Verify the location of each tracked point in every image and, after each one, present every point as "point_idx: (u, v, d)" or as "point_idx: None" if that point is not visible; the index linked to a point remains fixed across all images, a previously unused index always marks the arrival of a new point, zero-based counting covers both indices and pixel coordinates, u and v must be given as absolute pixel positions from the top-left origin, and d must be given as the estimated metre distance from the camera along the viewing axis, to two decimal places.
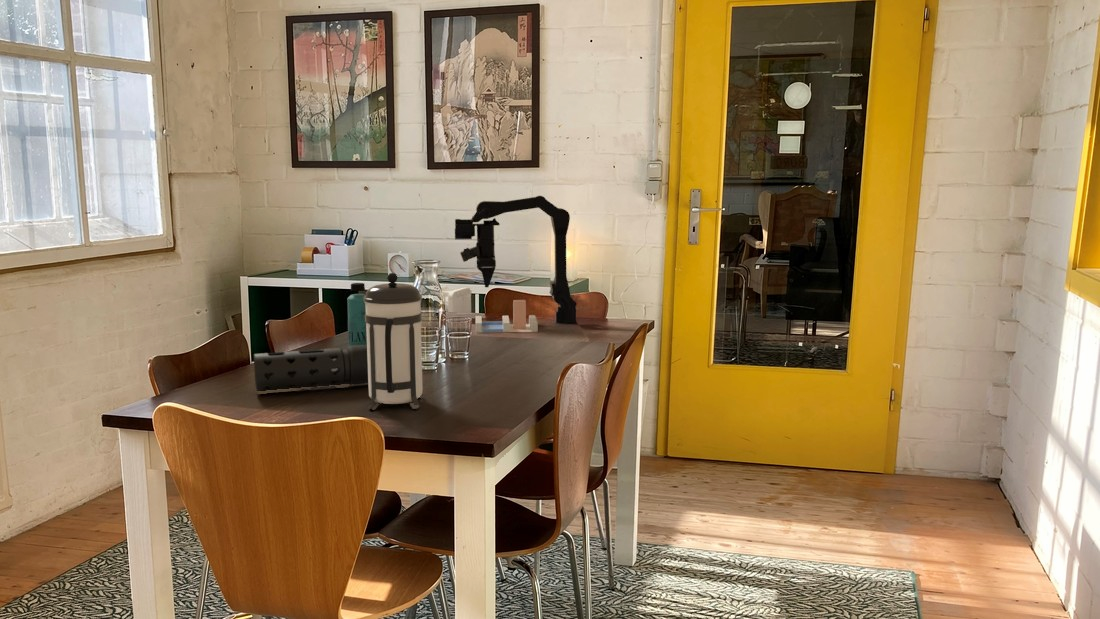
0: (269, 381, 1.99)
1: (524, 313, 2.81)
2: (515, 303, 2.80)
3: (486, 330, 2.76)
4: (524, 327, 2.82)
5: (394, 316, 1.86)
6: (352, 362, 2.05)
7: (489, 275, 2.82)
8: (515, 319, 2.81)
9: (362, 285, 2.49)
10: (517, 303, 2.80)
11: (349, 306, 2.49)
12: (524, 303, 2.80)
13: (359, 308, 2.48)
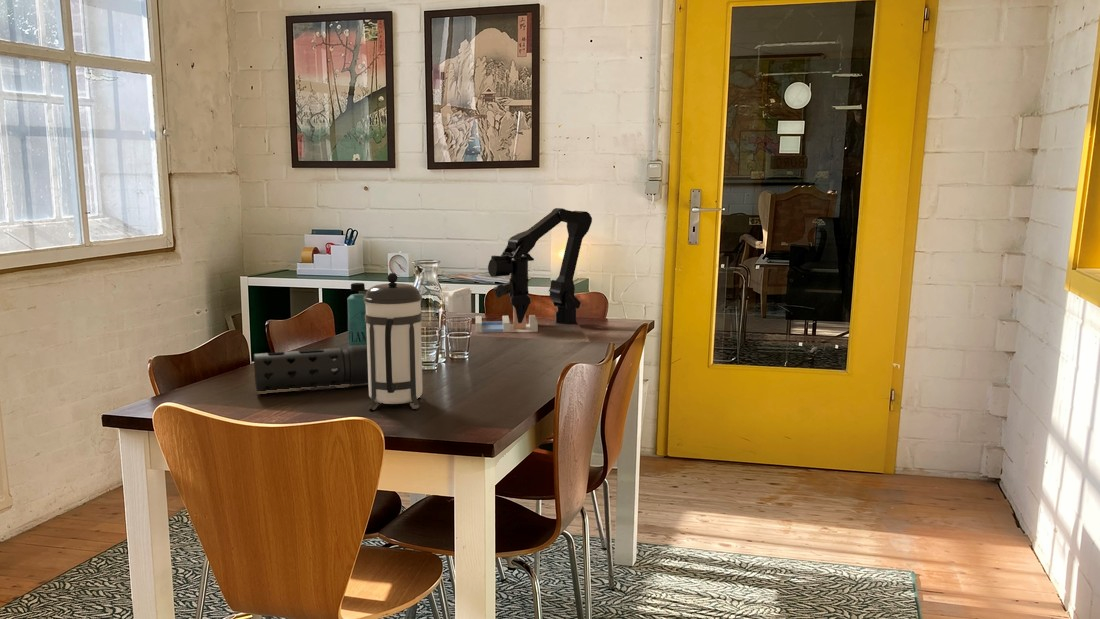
0: (269, 381, 1.99)
1: None
2: None
3: (486, 330, 2.76)
4: (524, 327, 2.82)
5: (394, 316, 1.86)
6: (352, 362, 2.05)
7: (523, 311, 2.79)
8: (515, 319, 2.81)
9: (362, 285, 2.49)
10: None
11: (349, 306, 2.49)
12: None
13: (359, 308, 2.48)
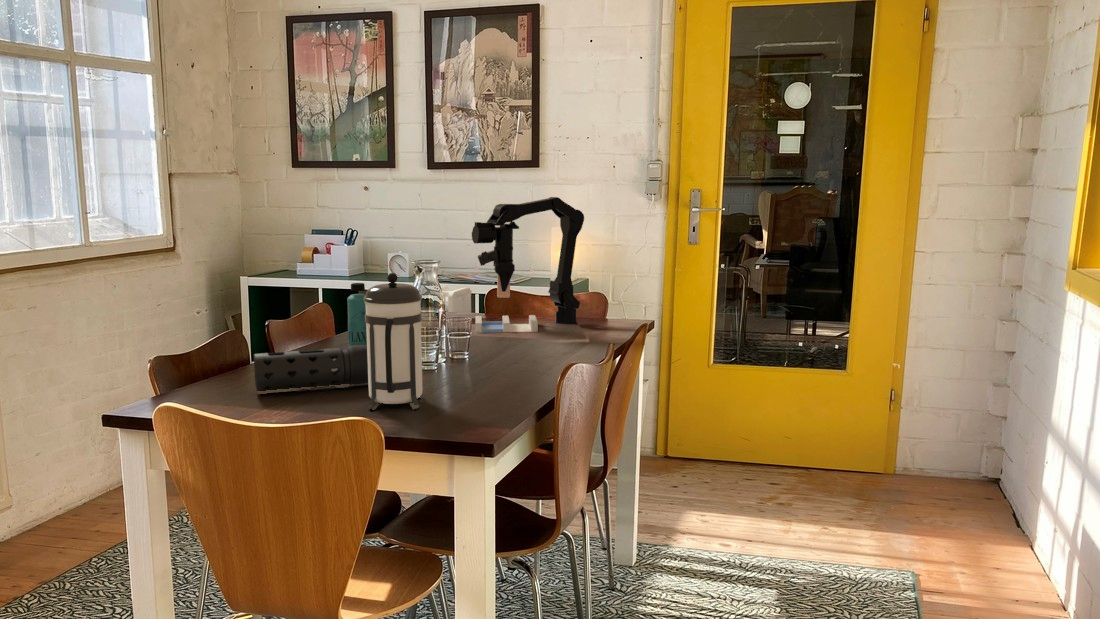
0: (269, 381, 1.99)
1: None
2: None
3: (486, 330, 2.76)
4: (508, 296, 2.79)
5: (394, 316, 1.86)
6: (352, 362, 2.05)
7: (507, 279, 2.77)
8: (499, 287, 2.79)
9: (362, 285, 2.49)
10: None
11: (349, 306, 2.49)
12: None
13: (359, 308, 2.48)
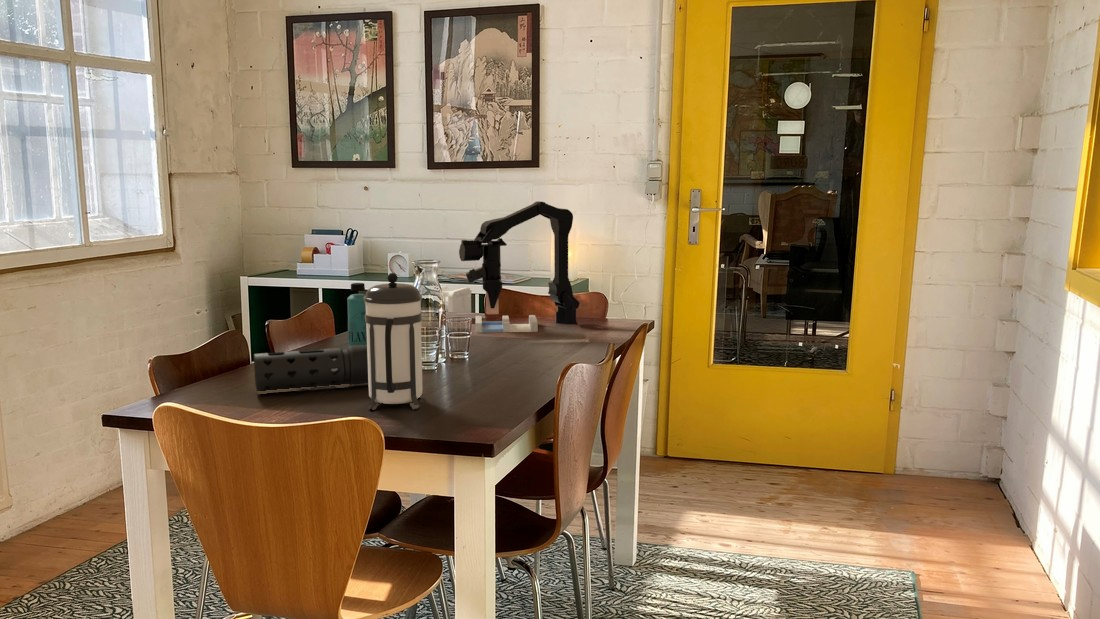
0: (269, 381, 1.99)
1: None
2: None
3: (486, 330, 2.76)
4: (497, 312, 2.80)
5: (394, 316, 1.86)
6: (352, 362, 2.05)
7: (495, 296, 2.78)
8: (487, 304, 2.79)
9: (362, 285, 2.49)
10: None
11: (349, 306, 2.49)
12: None
13: (359, 308, 2.48)
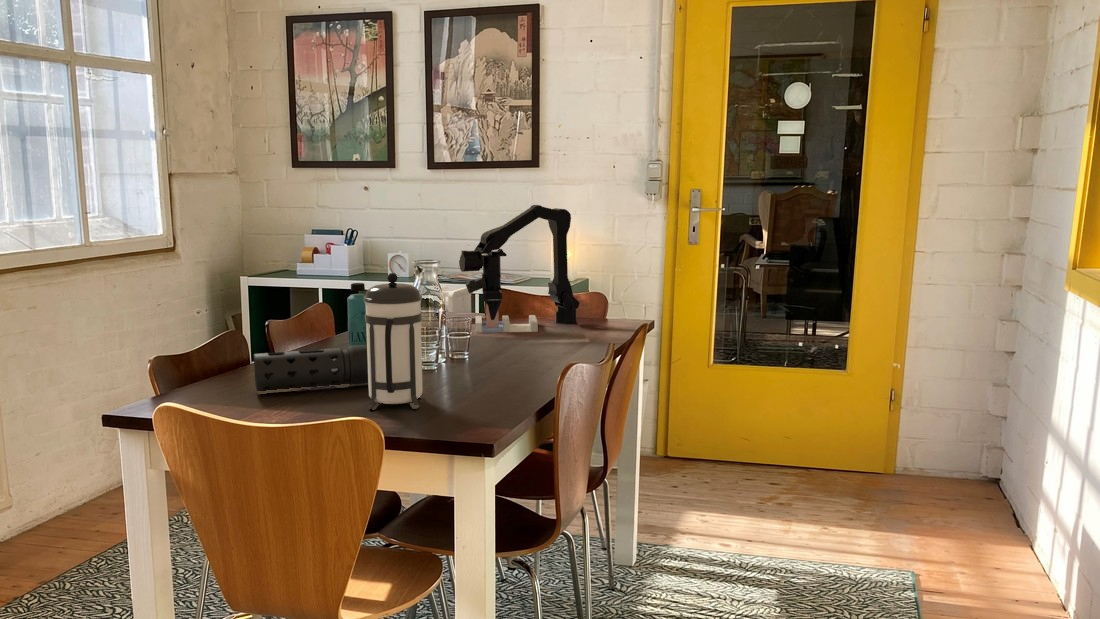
0: (269, 381, 1.99)
1: (497, 313, 2.80)
2: None
3: (486, 330, 2.76)
4: (497, 327, 2.81)
5: (394, 316, 1.86)
6: (352, 362, 2.05)
7: (495, 308, 2.76)
8: (487, 319, 2.80)
9: (362, 285, 2.49)
10: None
11: (349, 306, 2.49)
12: None
13: (359, 308, 2.48)
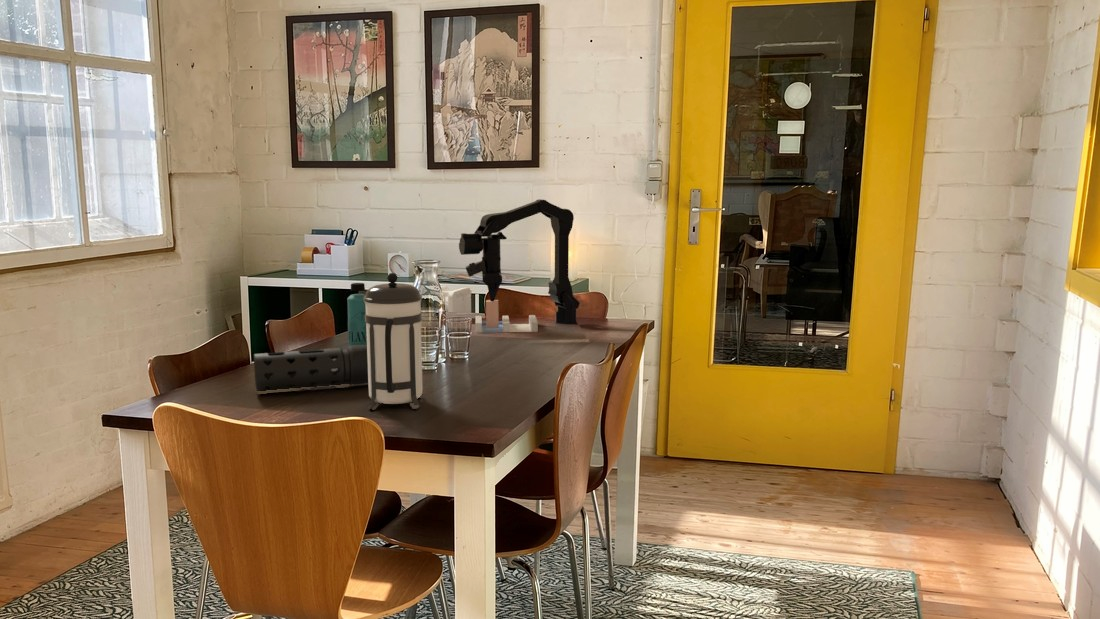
0: (269, 381, 1.99)
1: (497, 313, 2.80)
2: (487, 303, 2.79)
3: (486, 330, 2.76)
4: (497, 327, 2.81)
5: (394, 316, 1.86)
6: (352, 362, 2.05)
7: (495, 289, 2.79)
8: (487, 319, 2.80)
9: (362, 285, 2.49)
10: (489, 303, 2.79)
11: (349, 306, 2.49)
12: (496, 303, 2.80)
13: (359, 308, 2.48)
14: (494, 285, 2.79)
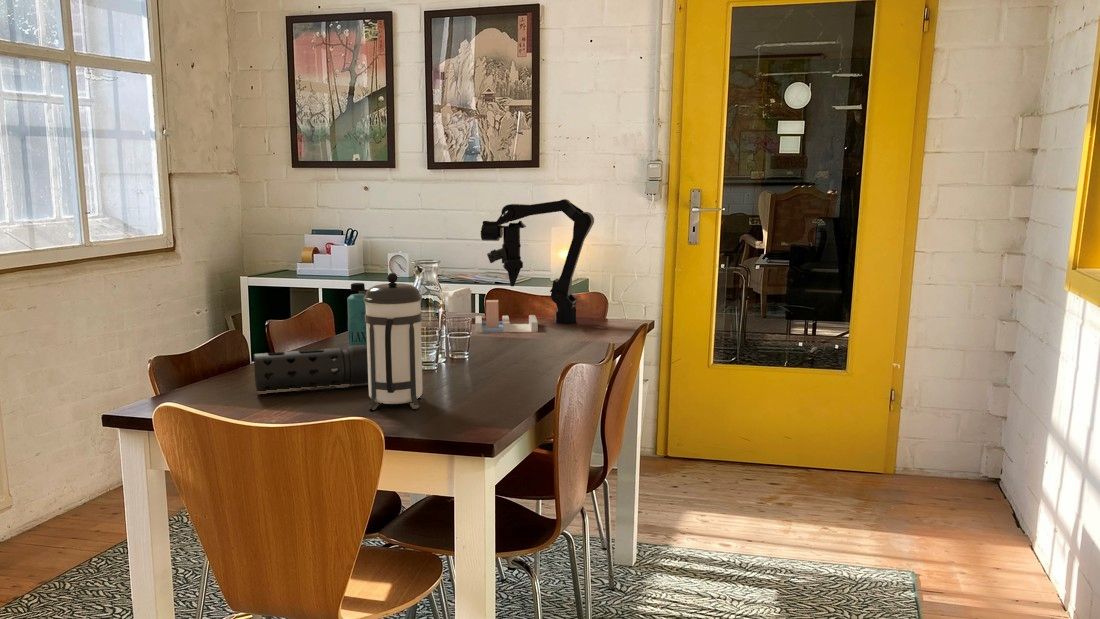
0: (269, 381, 1.99)
1: (497, 313, 2.80)
2: (487, 303, 2.79)
3: (486, 330, 2.76)
4: (497, 327, 2.81)
5: (394, 316, 1.86)
6: (352, 362, 2.05)
7: (515, 275, 2.93)
8: (487, 319, 2.80)
9: (362, 285, 2.49)
10: (489, 303, 2.79)
11: (349, 306, 2.49)
12: (496, 303, 2.80)
13: (359, 308, 2.48)
14: (514, 271, 2.93)
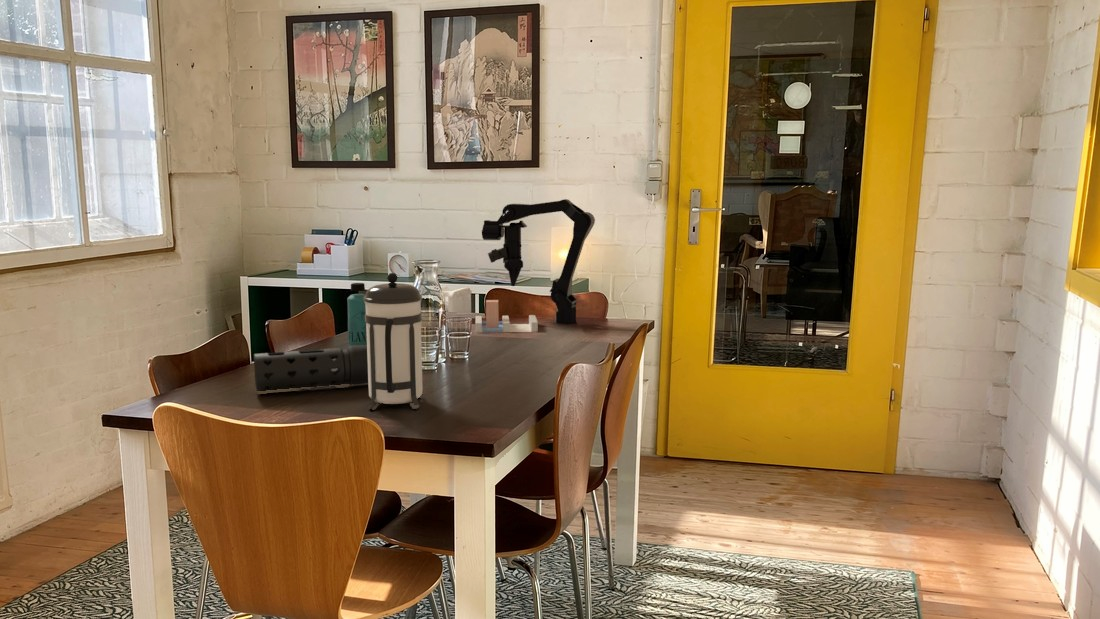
0: (269, 381, 1.99)
1: (497, 313, 2.80)
2: (487, 303, 2.79)
3: (486, 330, 2.76)
4: (497, 327, 2.81)
5: (394, 316, 1.86)
6: (352, 362, 2.05)
7: (515, 274, 2.94)
8: (487, 319, 2.80)
9: (362, 285, 2.49)
10: (489, 303, 2.79)
11: (349, 306, 2.49)
12: (496, 303, 2.80)
13: (359, 308, 2.48)
14: (515, 271, 2.94)
